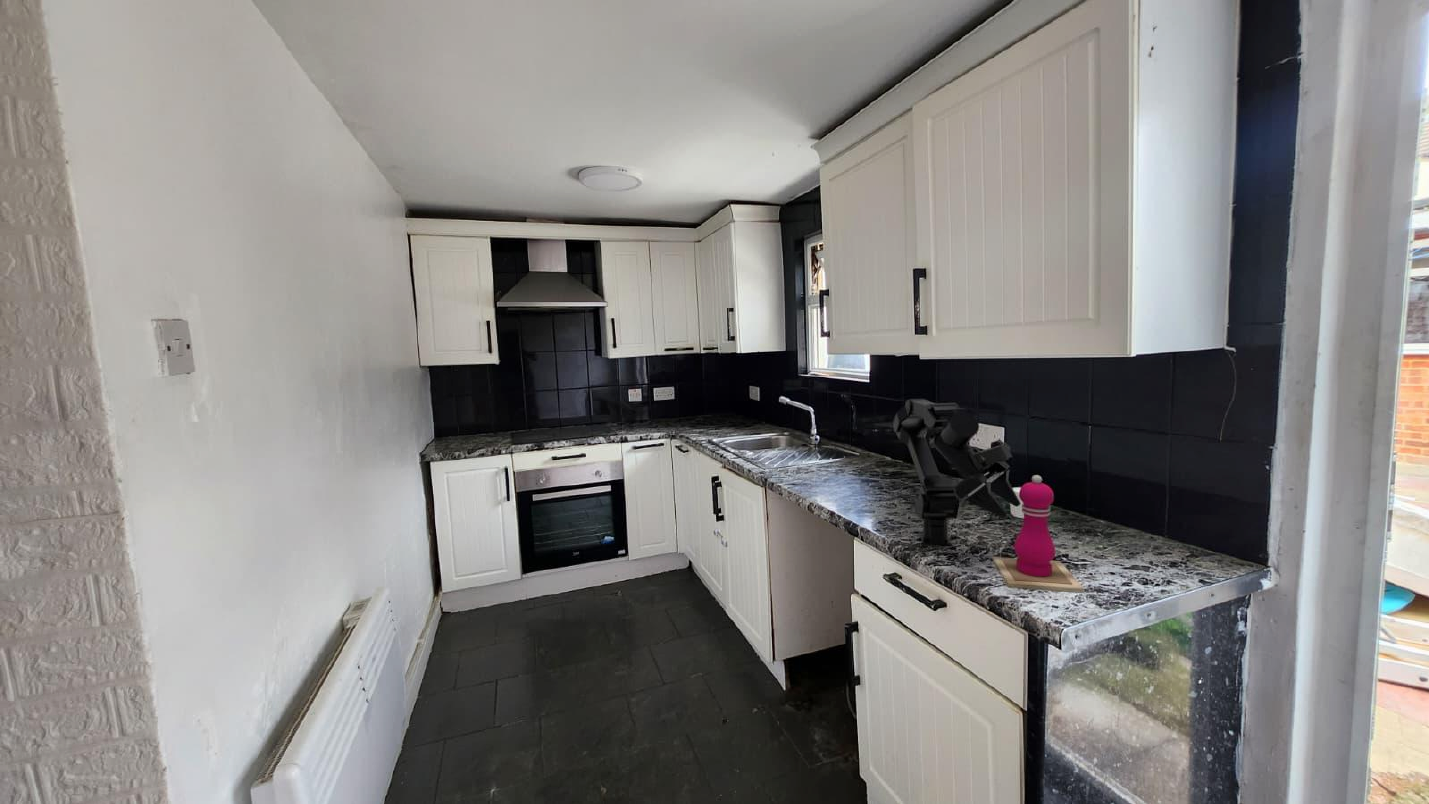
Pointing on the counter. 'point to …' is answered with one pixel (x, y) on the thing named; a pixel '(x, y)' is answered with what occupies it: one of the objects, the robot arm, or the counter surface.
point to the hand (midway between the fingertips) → (1012, 510)
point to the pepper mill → (1035, 530)
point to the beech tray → (1037, 577)
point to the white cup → (1017, 510)
